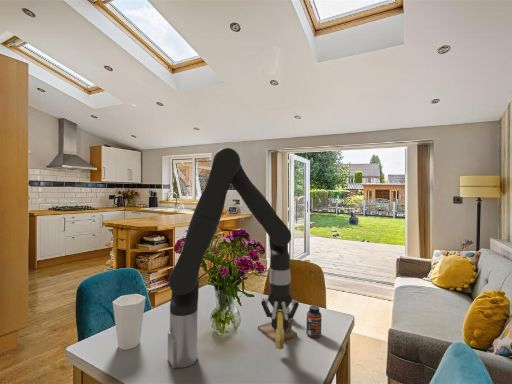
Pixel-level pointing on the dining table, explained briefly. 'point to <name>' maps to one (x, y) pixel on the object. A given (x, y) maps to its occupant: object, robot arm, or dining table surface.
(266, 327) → the base
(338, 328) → the dining table surface
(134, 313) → the cup
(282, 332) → the lever
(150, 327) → the dining table surface
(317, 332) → the supplement bottle
